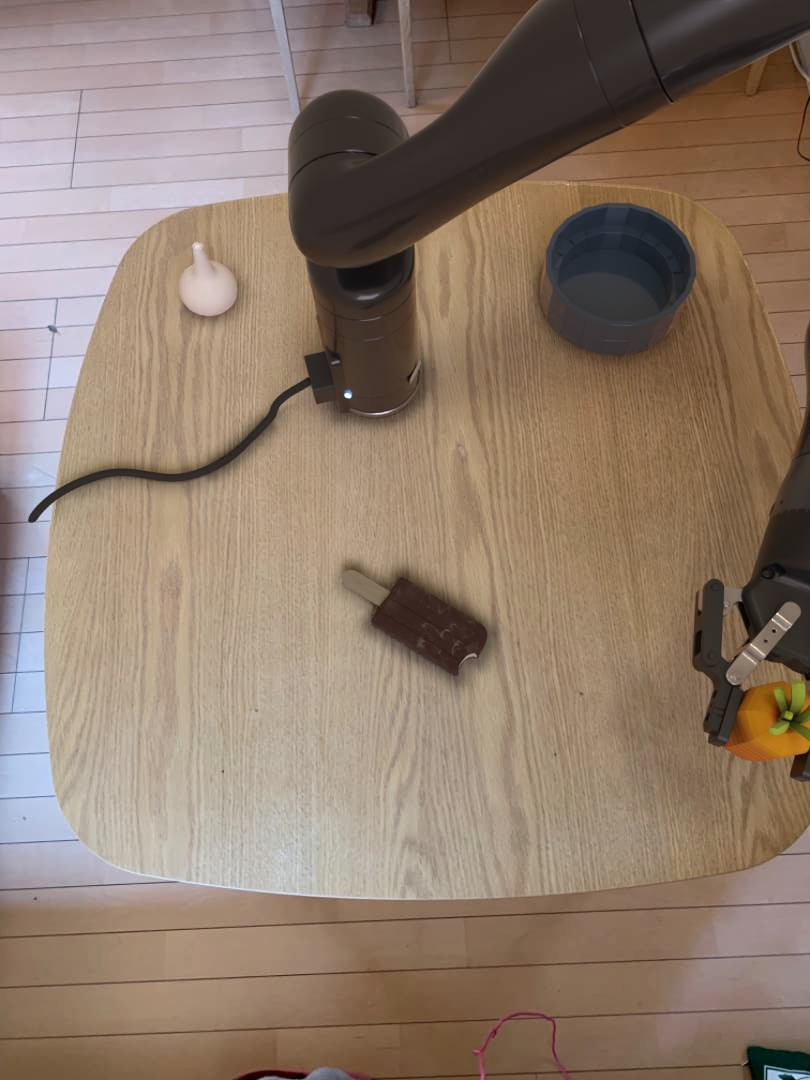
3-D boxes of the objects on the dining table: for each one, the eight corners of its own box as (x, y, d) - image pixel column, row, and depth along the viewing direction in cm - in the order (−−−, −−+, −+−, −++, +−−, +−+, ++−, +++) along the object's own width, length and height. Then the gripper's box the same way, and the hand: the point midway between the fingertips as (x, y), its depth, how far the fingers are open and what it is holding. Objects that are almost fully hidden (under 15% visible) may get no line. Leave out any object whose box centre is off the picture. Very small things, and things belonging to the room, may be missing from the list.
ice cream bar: (329, 599, 82) (463, 681, 79) (327, 594, 80) (463, 678, 77) (359, 555, 83) (492, 634, 80) (358, 549, 82) (493, 630, 78)
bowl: (564, 373, 89) (573, 340, 84) (521, 258, 95) (527, 221, 89) (701, 339, 90) (719, 305, 85) (651, 227, 95) (664, 188, 90)
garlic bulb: (172, 305, 94) (149, 258, 86) (206, 265, 96) (186, 215, 88) (218, 330, 93) (199, 284, 85) (251, 289, 94) (235, 240, 87)
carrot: (758, 778, 62) (855, 759, 48) (689, 764, 63) (765, 741, 49) (762, 711, 64) (857, 674, 50) (695, 698, 64) (771, 657, 50)
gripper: (744, 474, 57) (666, 708, 52) (961, 553, 55) (902, 806, 50) (709, 514, 64) (637, 724, 59) (900, 586, 62) (843, 810, 57)
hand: (759, 760), depth 54 cm, fingers closed on carrot, 5 cm apart
